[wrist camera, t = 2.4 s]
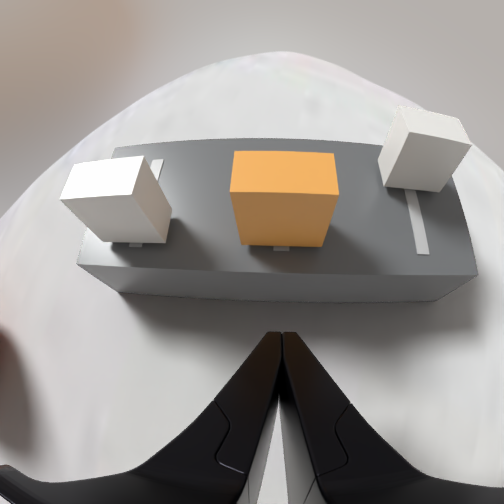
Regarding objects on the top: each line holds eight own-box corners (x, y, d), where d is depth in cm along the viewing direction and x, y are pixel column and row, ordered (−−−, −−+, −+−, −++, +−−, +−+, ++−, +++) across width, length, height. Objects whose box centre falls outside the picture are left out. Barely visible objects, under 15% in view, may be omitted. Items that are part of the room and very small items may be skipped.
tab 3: (439, 192, 14) (471, 144, 10) (383, 186, 14) (409, 131, 10) (431, 166, 14) (458, 118, 11) (377, 160, 15) (398, 105, 11)
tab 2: (321, 247, 13) (339, 194, 9) (241, 244, 13) (229, 191, 9) (319, 211, 14) (333, 153, 10) (244, 209, 14) (234, 150, 10)
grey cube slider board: (435, 300, 17) (478, 274, 12) (117, 291, 18) (75, 263, 14) (416, 195, 20) (443, 153, 15) (141, 189, 22) (115, 145, 17)
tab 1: (165, 243, 13) (131, 194, 10) (103, 242, 14) (59, 199, 10) (172, 209, 14) (144, 155, 10) (111, 210, 14) (74, 164, 11)
